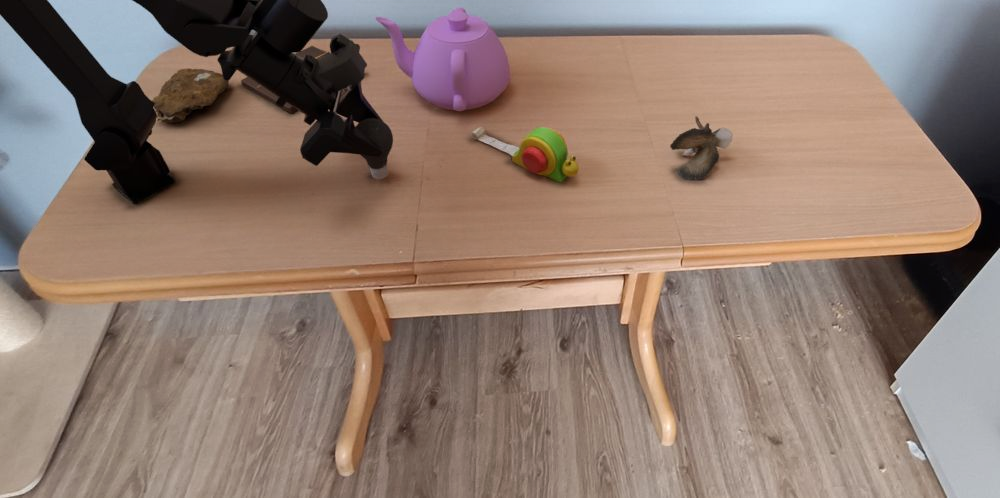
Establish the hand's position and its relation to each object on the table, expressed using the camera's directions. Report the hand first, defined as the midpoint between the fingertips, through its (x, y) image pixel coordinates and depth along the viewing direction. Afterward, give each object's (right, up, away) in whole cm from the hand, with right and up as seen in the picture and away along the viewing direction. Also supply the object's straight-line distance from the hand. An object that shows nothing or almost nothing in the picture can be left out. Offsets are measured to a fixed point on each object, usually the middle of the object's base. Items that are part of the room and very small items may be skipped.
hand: (383, 141), depth 83 cm
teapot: (+7, +13, +21) cm, 26 cm away
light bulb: (-1, -5, +5) cm, 7 cm away
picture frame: (-19, +15, +23) cm, 34 cm away
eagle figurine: (+47, -2, +7) cm, 47 cm away
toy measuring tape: (+20, -1, +8) cm, 22 cm away
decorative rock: (-37, +10, +18) cm, 42 cm away
